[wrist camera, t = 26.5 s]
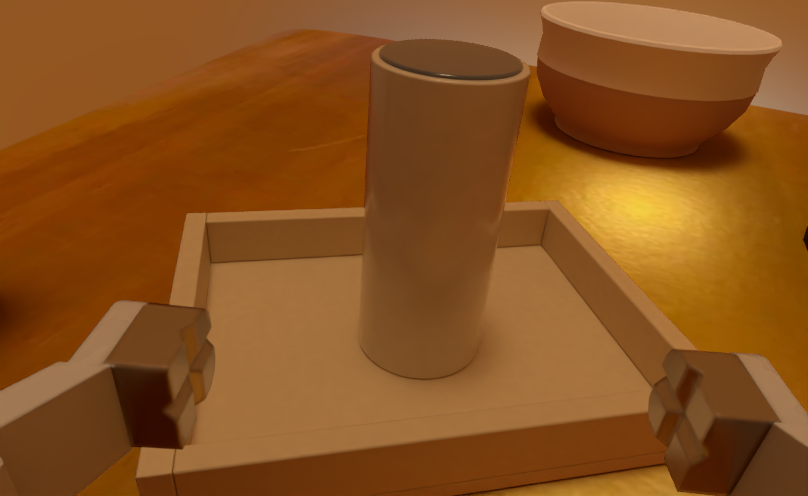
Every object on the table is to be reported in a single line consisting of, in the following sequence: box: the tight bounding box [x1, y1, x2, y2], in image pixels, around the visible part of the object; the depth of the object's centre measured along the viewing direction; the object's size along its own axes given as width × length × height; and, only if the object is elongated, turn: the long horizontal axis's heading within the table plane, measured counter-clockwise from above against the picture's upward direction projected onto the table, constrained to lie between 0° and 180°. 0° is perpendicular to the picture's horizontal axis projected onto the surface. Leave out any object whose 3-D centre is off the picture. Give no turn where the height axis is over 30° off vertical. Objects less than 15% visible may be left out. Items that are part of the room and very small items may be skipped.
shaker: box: [358, 39, 530, 379], centre depth 19 cm, size 4×4×10 cm
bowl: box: [537, 1, 782, 158], centre depth 42 cm, size 16×16×8 cm
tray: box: [135, 201, 698, 496], centre depth 21 cm, size 17×13×3 cm
